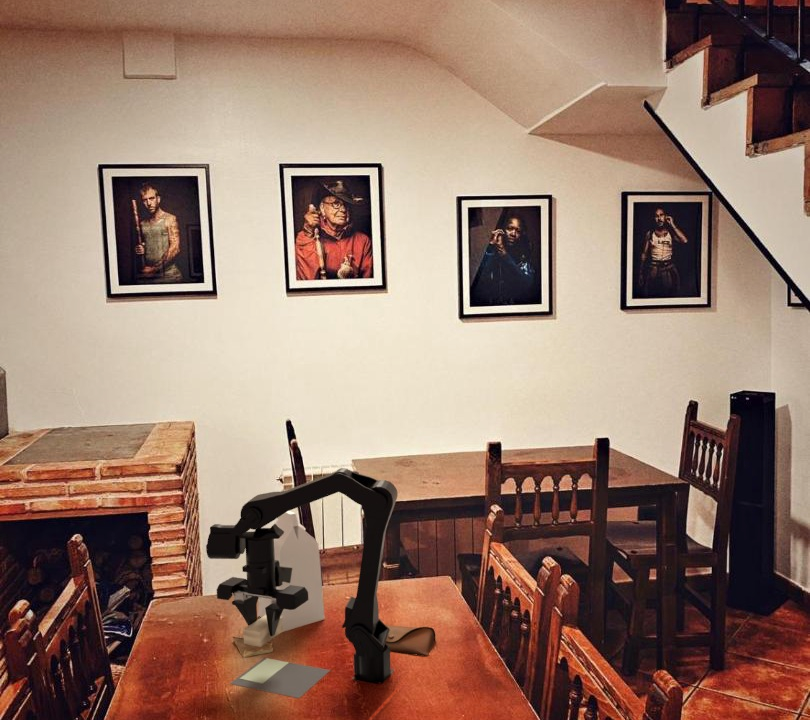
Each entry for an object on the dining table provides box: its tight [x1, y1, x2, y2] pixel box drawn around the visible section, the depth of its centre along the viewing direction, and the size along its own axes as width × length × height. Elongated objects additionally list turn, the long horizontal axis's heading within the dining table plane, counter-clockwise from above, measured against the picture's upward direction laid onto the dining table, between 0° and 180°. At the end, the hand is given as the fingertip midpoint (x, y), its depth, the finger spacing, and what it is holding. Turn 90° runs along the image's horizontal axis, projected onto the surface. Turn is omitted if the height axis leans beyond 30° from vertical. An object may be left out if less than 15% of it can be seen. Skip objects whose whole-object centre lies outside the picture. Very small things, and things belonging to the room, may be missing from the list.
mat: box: [229, 657, 331, 699], centre depth 153 cm, size 16×12×1 cm
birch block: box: [243, 615, 283, 647], centre depth 156 cm, size 8×4×3 cm, turn 156°
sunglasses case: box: [385, 624, 436, 657], centre depth 168 cm, size 18×7×7 cm
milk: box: [257, 510, 326, 633], centre depth 184 cm, size 12×12×26 cm
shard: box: [232, 636, 274, 658], centre depth 169 cm, size 11×8×2 cm
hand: (263, 633), depth 156 cm, fingers closed on birch block, 4 cm apart
